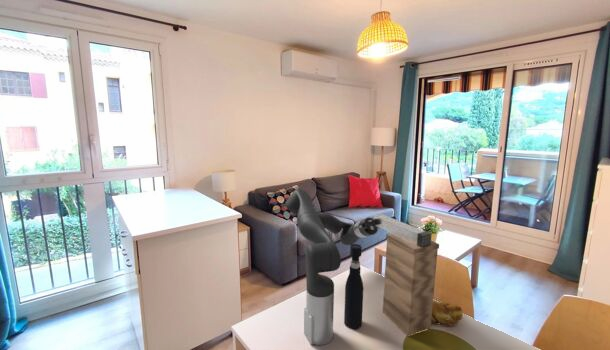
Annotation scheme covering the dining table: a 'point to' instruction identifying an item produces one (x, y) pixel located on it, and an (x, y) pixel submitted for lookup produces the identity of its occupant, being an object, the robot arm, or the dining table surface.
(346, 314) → the wine bottle
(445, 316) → the bread roll
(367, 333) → the dining table surface
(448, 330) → the dining table surface
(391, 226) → the aluminium bar
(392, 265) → the walnut stand
